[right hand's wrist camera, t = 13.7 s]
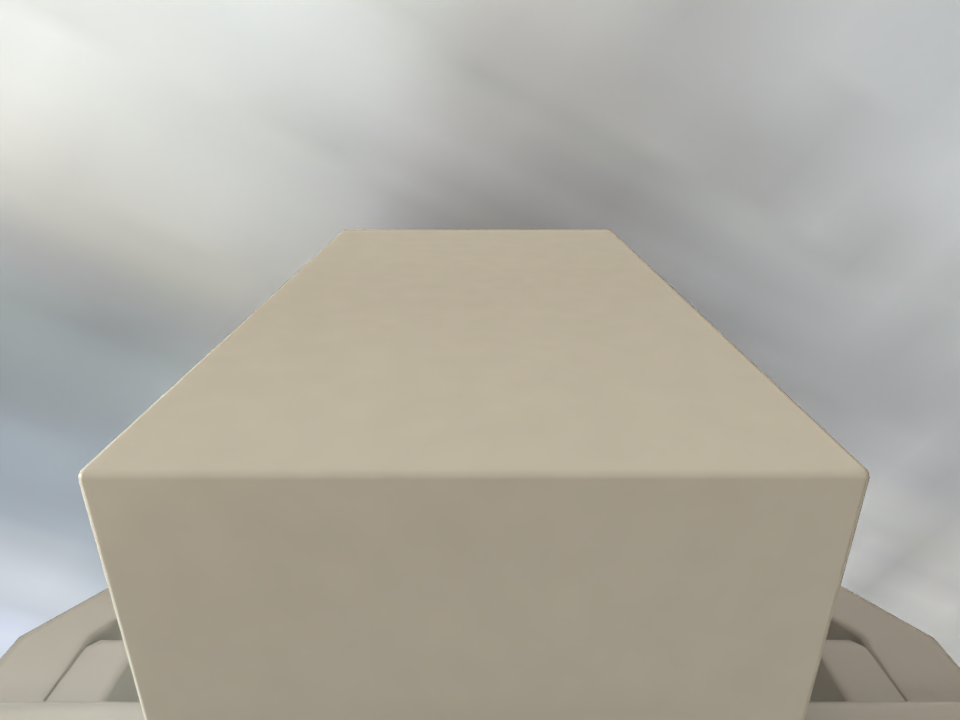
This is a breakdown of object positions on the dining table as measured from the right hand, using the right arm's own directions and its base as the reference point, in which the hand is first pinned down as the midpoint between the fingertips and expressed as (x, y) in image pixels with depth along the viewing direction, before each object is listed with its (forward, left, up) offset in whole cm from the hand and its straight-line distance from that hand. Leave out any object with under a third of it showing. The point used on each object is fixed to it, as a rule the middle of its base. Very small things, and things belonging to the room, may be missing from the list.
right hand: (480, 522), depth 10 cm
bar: (+9, +2, -3) cm, 10 cm away
